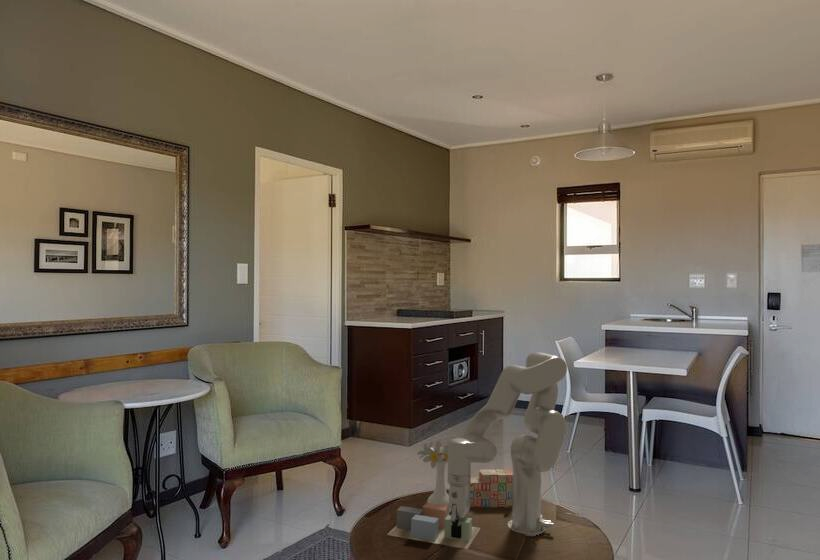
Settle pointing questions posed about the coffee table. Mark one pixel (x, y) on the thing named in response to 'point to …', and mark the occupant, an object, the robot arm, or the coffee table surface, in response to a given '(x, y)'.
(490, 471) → the stack of blocks
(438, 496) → the flower vase
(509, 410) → the robot arm
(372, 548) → the coffee table surface
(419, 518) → the dusty blue brick
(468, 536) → the sage brick
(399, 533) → the birch board
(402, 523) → the charcoal brick
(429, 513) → the terracotta brick
